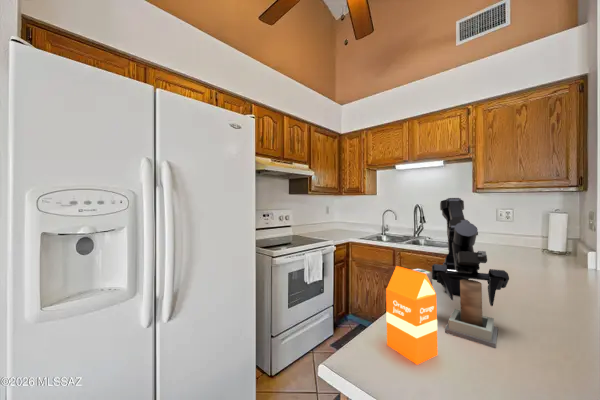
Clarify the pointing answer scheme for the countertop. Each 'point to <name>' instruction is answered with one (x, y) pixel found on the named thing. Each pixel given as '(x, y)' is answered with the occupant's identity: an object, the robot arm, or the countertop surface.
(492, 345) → the dock
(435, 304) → the orange juice
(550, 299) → the countertop surface
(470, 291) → the walnut plug
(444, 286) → the robot arm
